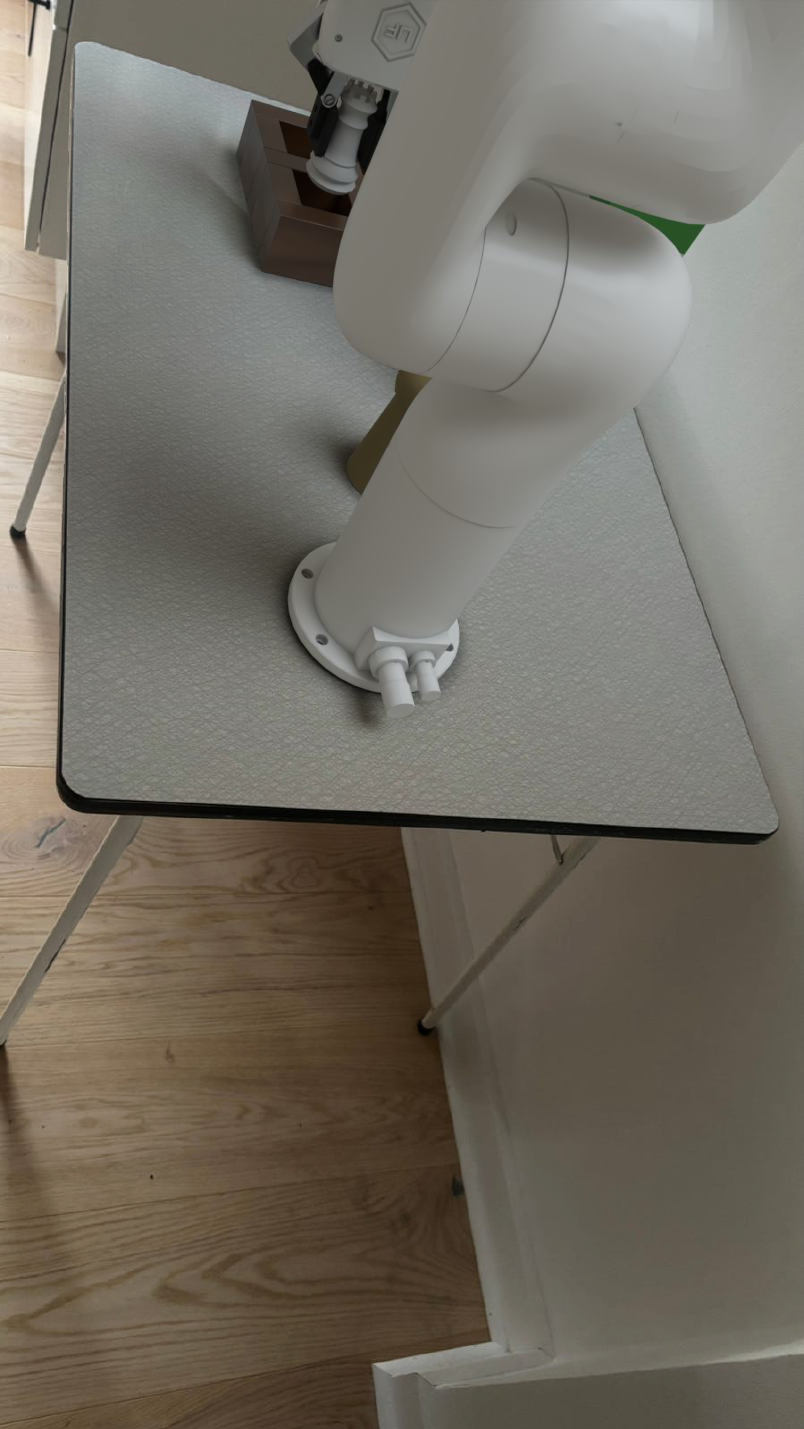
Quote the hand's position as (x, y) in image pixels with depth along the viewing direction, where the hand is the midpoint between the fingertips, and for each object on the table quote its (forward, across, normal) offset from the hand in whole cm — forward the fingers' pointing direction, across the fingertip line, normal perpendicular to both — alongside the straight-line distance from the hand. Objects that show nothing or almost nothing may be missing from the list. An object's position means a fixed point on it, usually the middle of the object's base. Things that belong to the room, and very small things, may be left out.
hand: (339, 152), depth 84 cm
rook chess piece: (+3, 0, 0) cm, 3 cm away
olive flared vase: (+10, +2, -27) cm, 29 cm away
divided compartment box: (+9, +4, +4) cm, 11 cm away
